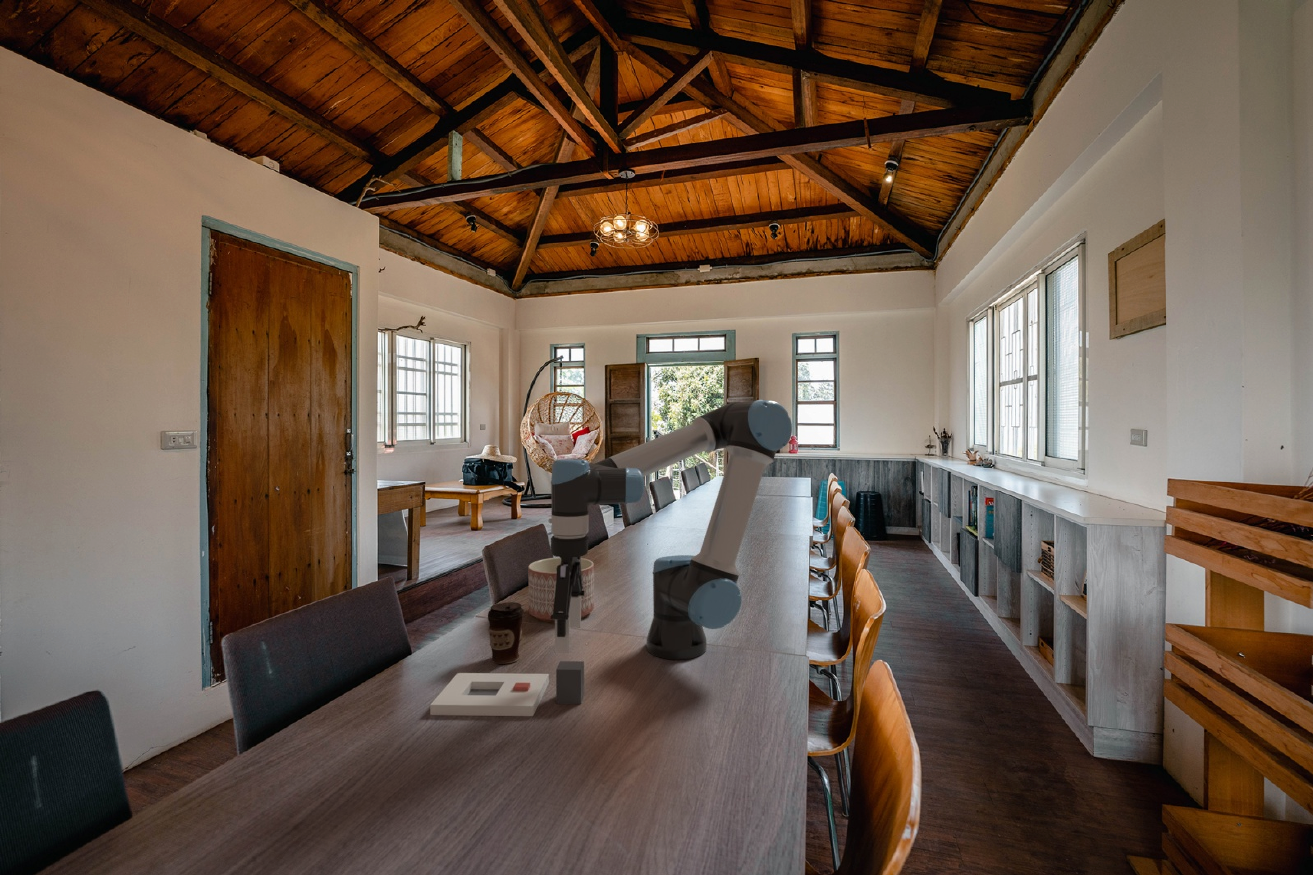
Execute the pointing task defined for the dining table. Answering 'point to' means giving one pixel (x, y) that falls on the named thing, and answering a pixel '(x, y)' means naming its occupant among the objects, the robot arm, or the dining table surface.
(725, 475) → the robot arm
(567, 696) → the plug
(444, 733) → the dining table surface
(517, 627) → the coffee cup
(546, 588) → the planter
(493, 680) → the faceplate
